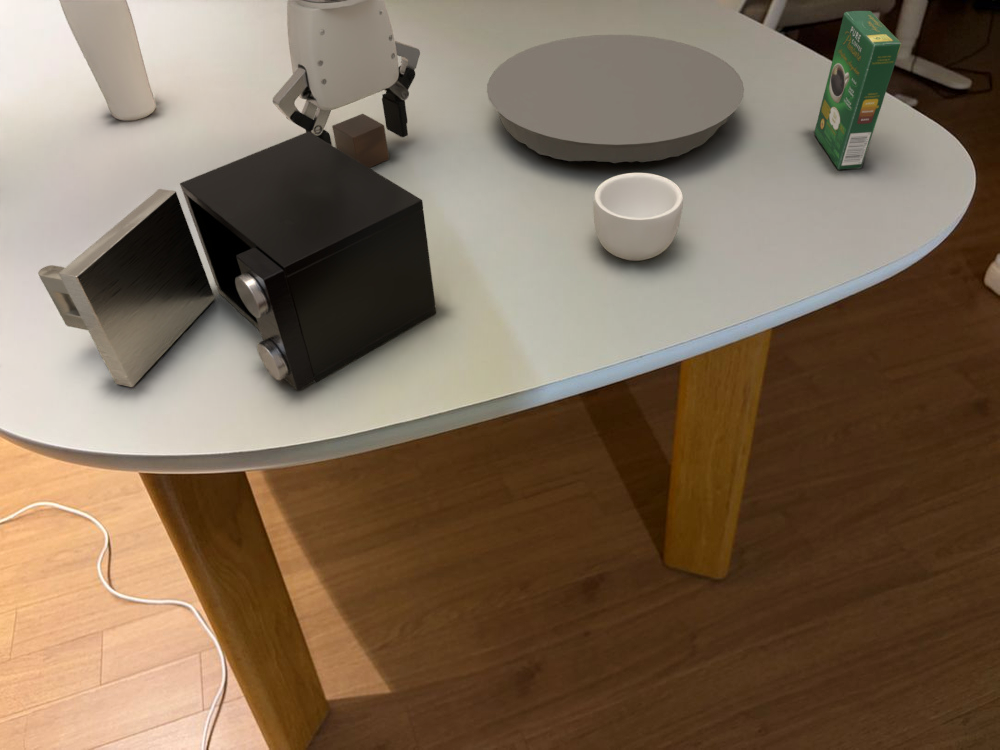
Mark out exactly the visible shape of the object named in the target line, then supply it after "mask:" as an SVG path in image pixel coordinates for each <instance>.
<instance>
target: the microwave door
mask: <svg viewBox="0 0 1000 750" xmlns="http://www.w3.org/2000/svg"><path fill="white" fill-rule="evenodd" d="M37 275H38V276H39V278H40V281H41V282H42V284H43V286H44V287H45V290H46V291H47V293H48V295H49V297H50V299H51V300H52V302H53V304H54V306H55V308H56V310H57V311H58V313H59V315H60V317H61V319H62V321H63V322H64V325H65V326H66V327H69V328H75V329H80V330H85V331H87V332H88V333H89V335H90V337H91V339H92V341H93V343H94V344H95V347H96V349H97V350H98V352H99V354H100V356H101V358H102V360H103V362H104V364H105V366H106V367H107V370H108V371H109V373H110V375H111V378H112V379H113V381H114V383H115V384H116V385H120V386H124V387H129V388H133V387H135V385H136V384H138V382H139V381H140V380H141V379H142V378H143V377H144V375H146V374H147V373H148V372H149V370H150V369H151V368H152V367H153V366H154V365H155V364H156V362H158V361H159V359H160V358H161V357H162V356H163V355H164V354H165V353H166V352H167V351H168V350H169V349H170V348H171V347H172V345H174V343H175V342H176V341H177V340H178V339H179V338H180V337H181V336H182V335H183V334H184V333H185V332H186V330H187V329H188V328H189V327H190V326H191V325H192V324H193V323H194V322H195V321H196V320H197V319H198V318H199V317H200V316H201V314H202V313H203V312H204V311H205V310H206V309H207V308H208V307H209V306H210V305H211V304H212V302H213V301H214V300H215V295H214V292H213V290H212V286H211V284H210V281H209V278H208V276H207V273H206V270H205V268H204V264H203V262H202V260H201V257H200V254H199V251H198V248H197V245H196V243H195V240H194V238H193V235H192V232H191V228H190V226H189V224H188V221H187V218H186V215H185V213H184V210H183V207H182V204H181V202H180V199H179V197H178V194H177V191H176V190H169V189H162V188H159V189H157V190H156V191H155V192H154V193H153V194H151V195H150V196H149V197H148V198H146V199H145V200H144V201H143V202H142V203H140V204H139V205H138V206H137V207H136V208H134V210H132V211H130V213H128V214H127V215H126V216H125V217H124V218H123V219H121V220H120V221H119V222H118V223H116V224H115V225H114V226H113V227H112V228H110V229H109V230H108V231H107V232H106V233H105V234H104V235H102V236H101V237H99V239H98V240H96V241H95V242H94V243H93V244H91V245H90V246H89V247H88V248H86V250H84V251H83V252H82V253H81V254H80V255H78V256H77V257H76V258H75V259H74V260H72V261H71V262H70V263H69V264H68V265H67V266H65V267H64V266H58V265H53V264H52V265H45V266H43V267H41V268H40V269H39V270H38V273H37Z"/></svg>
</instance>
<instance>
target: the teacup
mask: <svg viewBox="0 0 1000 750" xmlns="http://www.w3.org/2000/svg"><path fill="white" fill-rule="evenodd" d="M683 197H684V196H683V193H682V189H681V188H680V187H679V186H678V185H677V183H675V182H674V181H673V180H670V179H669V178H667V177H664V176H661V175H659V174H654V173H649V172H628V173H622V174H617V175H614V176H612V177H610V178H607V179H606V180H604V181H602V182H601V183H600V184H599V185H598V187H597V188H596V189H595V192H594V195H593V199H592V200H593V201H592V203H593V205H592V210H593V213H592V214H593V226H594V231H595V234H596V237H597V239H598V241H599V243H600V244H601V246H602V247H603V249H605V250H606V251H607V252H608V253H609V254H611V255H612V256H614V257H616V258H619V259H623V260H625V261H631V262H632V261H634V262H638V261H644V260H649V259H653V258H655V257H657V256H659V255H661V254H662V253H663V252H664V251H666V250H667V249H668V248H669V247H670V246H671V244H672V243H673V241H674V239H675V237H676V235H677V232H678V229H679V226H680V222H681V219H682V212H683V207H684V206H683V205H684V198H683Z"/></svg>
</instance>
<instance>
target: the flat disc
mask: <svg viewBox="0 0 1000 750" xmlns="http://www.w3.org/2000/svg"><path fill="white" fill-rule="evenodd" d="M486 85H487V86H486V93H487V97H488V100H489V102H490V103H491V105H492V107H493V108H494V109H495V110H496V111H497V114H498V116H499V119H500V120H501V121H500V122H501V123H502V125H503V127H504V128H505V130H506V131H507V132H508V133H509V134H510V136H512V137H513V138H514V139H515V140H516V141H518V142H519V143H521V144H525V146H527V148H528V149H531V150H533V151H534V152H535V153H537V154H538V155H540V156H542V155H543V156H547V157H551V158H552V159H556V160H563V161H568V162H584V161H585V162H590V161H595V162H598V163H599V162H603V163H604V162H605V163H608V162H609V163H612V164H617V163H618V164H619V163H625V162H628V163H634V162H639V163H645V162H652V161H663V160H665V159H668V158H674V157H679V156H681V155H684V154H687V153H689V152H690V151H691V150H693V149H695V148H698V147H701V146H702V145H704V144H705V143H706V142H707V141H708V140H709V139H710V138H711V137H713V136H714V135H715V134H716V133H717V131H718V130H719V128H721V127H722V126H723V125H725V124H726V123H727V122H728V119H729V118H730V115H732V114H733V113H734V112H735V111H736V110H737V108H739V106H740V105H741V103H742V101H743V99H744V93H745V87H744V82H743V80H742V78H741V76H740V74H739V73H738V72H737V70H736V69H735V68H734V67H732V65H730V63H728V62H727V61H726V60H724V59H723V58H720V57H719V56H717V55H715V54H713V53H711V52H710V51H707V50H705V49H702V48H700V47H696V46H694V45H690V44H687V43H684V42H681V41H676V40H672V39H666V38H660V37H655V36H646V35H636V34H635V35H634V34H597V35H596V34H593V35H582V36H581V35H580V36H574V37H569V38H568V37H567V38H563V39H558V40H557V39H556V40H552V41H549V42H545V43H541V44H538V45H535V46H532V47H530V48H527V49H524V50H523V51H520V52H518V53H516V54H514V55H513V56H511V57H509V58H507V59H506V60H504V61H503V62H502V63H500V64H499V65H498V66H497V68H496V69H495V70H493V71H492V74H491V75H490V76H489V78H488V82H487V84H486Z"/></svg>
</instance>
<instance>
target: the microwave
mask: <svg viewBox="0 0 1000 750" xmlns="http://www.w3.org/2000/svg"><path fill="white" fill-rule="evenodd" d="M179 185H180V189H181V191H182V193H183V197H184V199H185V202H186V205H187V207H188V210H189V214H190V216H191V219H192V222H193V225H194V227H195V230H196V233H197V236H198V239H199V242H200V244H201V247H202V249H203V252H204V255H205V258H206V261H207V263H208V266H209V269H210V272H211V275H212V277H213V280H214V283H215V286H216V287H217V291H218V294H220V295H221V297H223V298H224V299H225V300H226V301H227V302H228V303H229V304H230V305H232V306H233V307H234V308H235V309H236V310H237V311H238V312H239V313H240V314H241V315H242V316H243V317H245V318H246V319H247V320H248V321H249V322H250V323H251V324H252V325H253V326H254V327H255V328H256V329H257V330H258V331H259V332H260V335H261V337H262V341H261V342H258V343H257V345H256V349H257V353H258V356H259V358H260V360H261V362H262V364H263V366H264V367H265V369H266V370H267V372H268V373H269V374H270V375H271V376H272V377H273V378H274V379H275V380H277V381H282V380H283V379H285V380H286V381H287V382H288V383H289V385H291V386H292V387H293V388H294V389H295V390H296V391H300V390H302V389H304V388H306V387H307V386H309V385H311V384H313V383H318V382H320V381H321V380H323V379H325V378H327V377H328V376H330V375H332V374H333V373H335V372H337V371H338V370H341V369H342V368H344V367H345V366H346V367H347V366H348V365H349V364H351V363H352V362H355V361H356V360H358V359H360V358H361V357H363V356H365V355H367V354H369V353H370V352H372V351H374V350H376V349H377V348H379V347H381V346H383V345H384V344H386V343H388V342H389V341H391V340H393V339H395V338H396V337H398V336H400V335H402V334H404V333H405V332H407V331H409V330H410V329H412V328H413V327H416V326H417V325H419V324H420V323H423V322H424V321H425V320H427V319H429V318H431V317H433V316H434V315H436V314H437V309H436V308H437V307H436V301H435V299H436V298H435V293H434V291H435V290H434V285H433V276H432V268H431V260H430V253H429V245H428V243H429V242H428V236H427V228H426V220H425V212H424V202H423V199H421V198H420V197H418V196H416V195H415V194H413V193H411V192H410V191H408V190H407V189H404V188H403V187H402V186H400V185H398V184H396V183H395V182H393V181H391V180H390V179H388V178H386V177H385V176H383V175H382V174H380V173H378V172H377V171H375V170H374V169H372V168H371V167H370V168H368V167H367V166H365V165H363V164H362V163H360V162H358V161H357V160H355V159H353V158H352V157H350V156H348V155H347V154H345V153H343V152H342V151H340V150H338V149H337V148H336V146H333V144H332V145H330V144H329V143H327V142H325V141H324V140H322V139H320V138H319V137H317V136H315V135H314V134H312V133H310V132H306V131H305V132H304V133H301V134H298V135H296V136H293V137H291V138H289V139H286V140H285V141H284V140H283V141H281V142H279V143H276V144H274V145H272V146H268V147H267V148H264V149H261V150H258V151H256V152H253V153H251V154H249V155H246V156H244V157H241V158H239V159H237V160H233V161H231V162H229V163H227V164H224V165H222V166H219V167H217V168H214V169H212V170H209V171H207V172H205V173H202V174H200V175H197V176H194V177H191V178H190V179H186V180H184V181H182V182H179Z"/></svg>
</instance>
